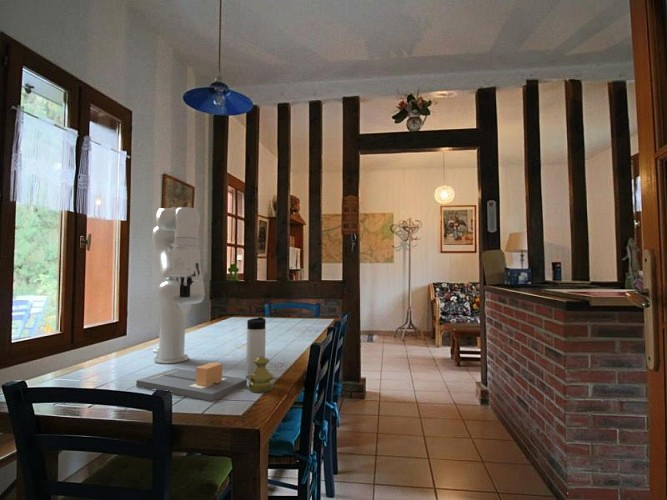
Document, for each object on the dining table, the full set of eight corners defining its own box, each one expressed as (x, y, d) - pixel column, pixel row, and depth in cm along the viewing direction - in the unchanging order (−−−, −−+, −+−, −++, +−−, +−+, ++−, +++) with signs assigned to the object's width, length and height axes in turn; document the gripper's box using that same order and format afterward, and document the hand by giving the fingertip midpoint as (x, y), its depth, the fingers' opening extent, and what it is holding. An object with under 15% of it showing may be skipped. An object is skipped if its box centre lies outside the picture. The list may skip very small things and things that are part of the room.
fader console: (136, 386, 121) (136, 379, 121) (176, 373, 136) (176, 367, 136) (211, 401, 109) (212, 393, 109) (246, 385, 123) (246, 378, 123)
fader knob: (195, 384, 117) (196, 367, 117) (211, 378, 123) (212, 362, 124) (206, 385, 115) (206, 368, 116) (221, 379, 122) (222, 363, 122)
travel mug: (268, 375, 135) (269, 317, 136) (258, 380, 129) (260, 320, 129) (252, 373, 137) (253, 316, 138) (242, 378, 131) (243, 319, 132)
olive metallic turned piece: (259, 384, 125) (260, 353, 125) (277, 388, 121) (278, 355, 122) (243, 390, 119) (244, 357, 119) (262, 394, 115) (262, 360, 115)
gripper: (161, 243, 133) (160, 297, 132) (195, 242, 127) (193, 299, 126) (178, 244, 140) (177, 295, 139) (211, 244, 134) (209, 297, 133)
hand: (184, 297), depth 133 cm, fingers closed
